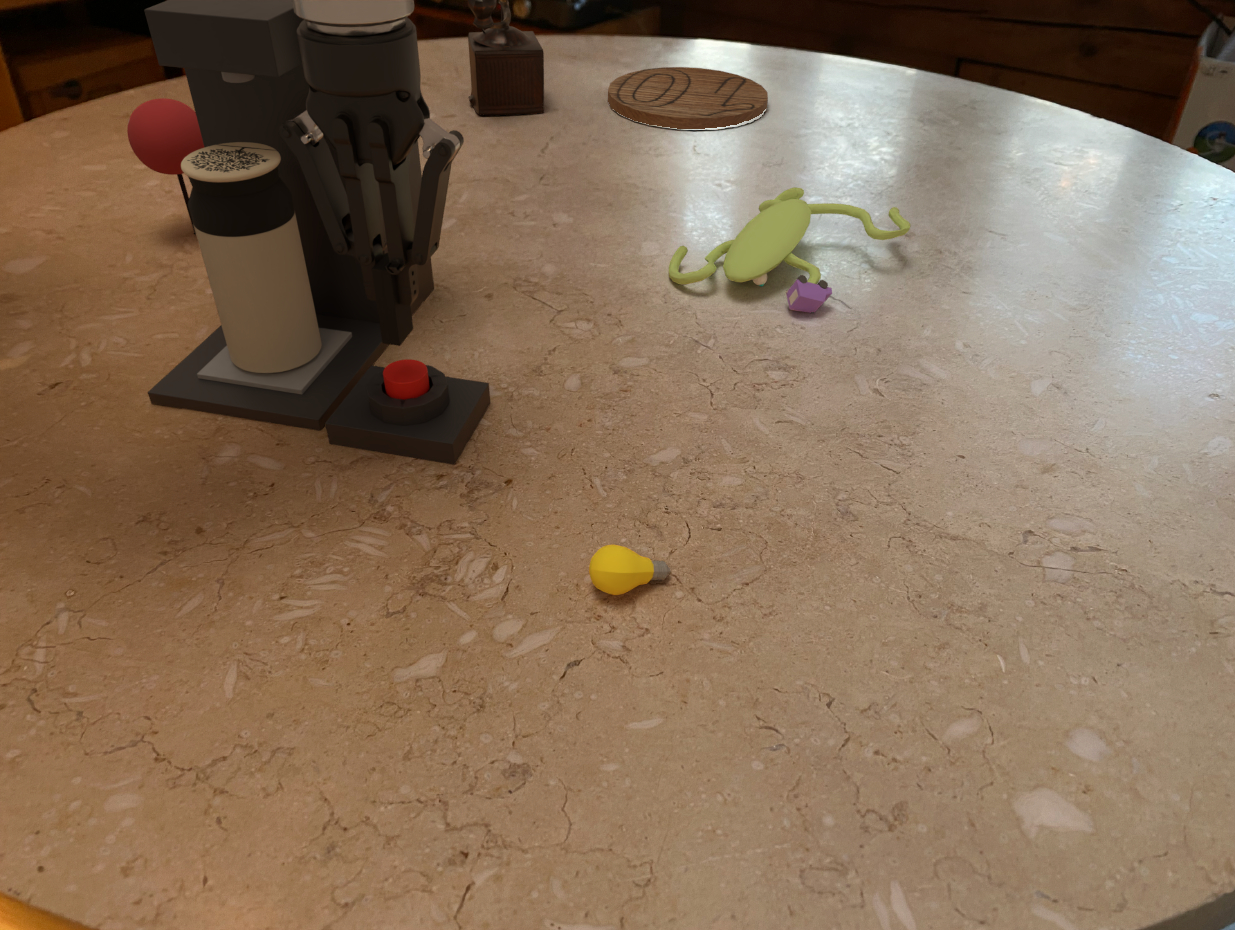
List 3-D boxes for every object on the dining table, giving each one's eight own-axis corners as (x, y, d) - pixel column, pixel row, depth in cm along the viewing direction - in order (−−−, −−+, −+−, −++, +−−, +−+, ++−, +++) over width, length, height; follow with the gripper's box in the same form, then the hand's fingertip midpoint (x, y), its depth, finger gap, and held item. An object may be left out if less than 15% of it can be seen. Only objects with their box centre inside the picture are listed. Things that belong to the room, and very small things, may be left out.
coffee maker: (151, 403, 82) (22, 37, 63) (294, 269, 102) (229, -40, 83) (320, 431, 79) (239, 58, 60) (434, 288, 99) (399, -26, 80)
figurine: (920, 253, 108) (931, 207, 105) (792, 340, 93) (801, 289, 89) (786, 206, 118) (792, 163, 114) (649, 278, 102) (652, 230, 98)
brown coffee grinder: (466, 95, 148) (456, -32, 137) (535, 92, 150) (532, -33, 139) (476, 129, 136) (467, -6, 125) (551, 125, 138) (549, -8, 127)
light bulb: (578, 581, 66) (587, 535, 65) (654, 582, 69) (664, 538, 68) (594, 603, 63) (604, 555, 62) (673, 604, 66) (683, 557, 65)
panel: (329, 444, 78) (320, 405, 75) (374, 385, 85) (368, 347, 82) (454, 465, 76) (450, 425, 74) (490, 403, 83) (487, 365, 80)
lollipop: (203, 214, 112) (168, 84, 102) (244, 231, 108) (212, 99, 99) (145, 236, 107) (103, 102, 98) (186, 255, 104) (147, 118, 94)
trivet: (774, 87, 155) (775, 75, 154) (757, 138, 136) (758, 125, 135) (627, 73, 159) (627, 61, 158) (590, 121, 140) (590, 108, 139)
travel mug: (289, 384, 82) (242, 184, 70) (212, 366, 83) (154, 168, 72) (339, 339, 87) (302, 148, 76) (265, 323, 89) (220, 135, 78)
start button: (378, 397, 77) (375, 379, 76) (396, 373, 80) (393, 356, 79) (419, 403, 77) (417, 385, 75) (435, 379, 79) (434, 362, 78)
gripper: (231, 24, 58) (300, 348, 73) (429, 44, 56) (458, 373, 71) (290, -4, 64) (343, 302, 79) (472, 14, 62) (490, 324, 77)
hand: (398, 335), depth 75 cm, fingers closed
